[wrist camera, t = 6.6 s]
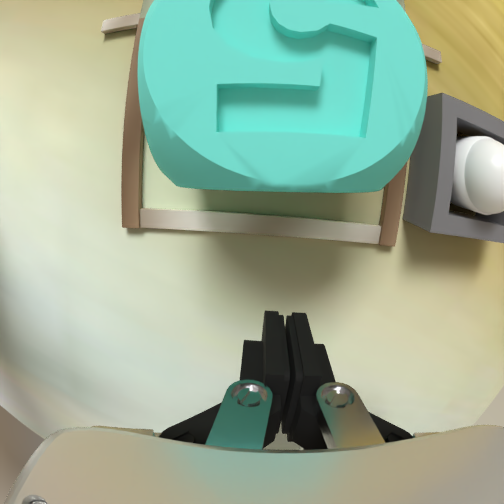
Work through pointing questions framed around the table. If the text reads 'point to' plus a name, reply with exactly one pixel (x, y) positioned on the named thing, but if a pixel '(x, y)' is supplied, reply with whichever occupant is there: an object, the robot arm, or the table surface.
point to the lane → (229, 220)
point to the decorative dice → (281, 93)
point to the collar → (448, 170)
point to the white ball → (479, 175)
